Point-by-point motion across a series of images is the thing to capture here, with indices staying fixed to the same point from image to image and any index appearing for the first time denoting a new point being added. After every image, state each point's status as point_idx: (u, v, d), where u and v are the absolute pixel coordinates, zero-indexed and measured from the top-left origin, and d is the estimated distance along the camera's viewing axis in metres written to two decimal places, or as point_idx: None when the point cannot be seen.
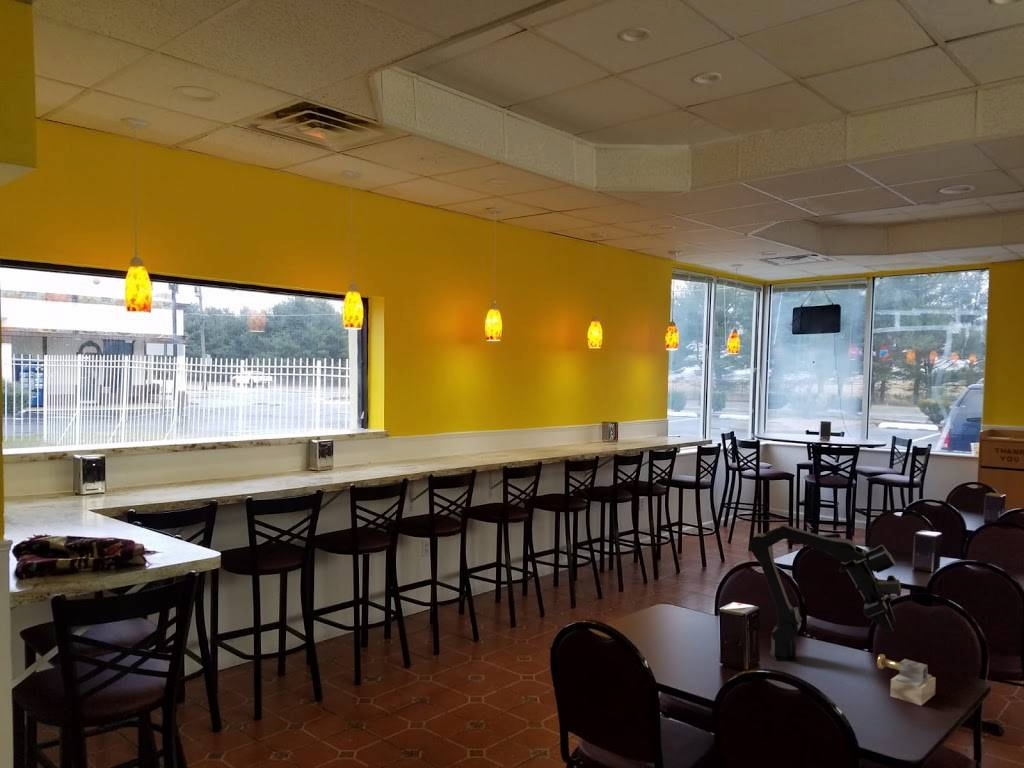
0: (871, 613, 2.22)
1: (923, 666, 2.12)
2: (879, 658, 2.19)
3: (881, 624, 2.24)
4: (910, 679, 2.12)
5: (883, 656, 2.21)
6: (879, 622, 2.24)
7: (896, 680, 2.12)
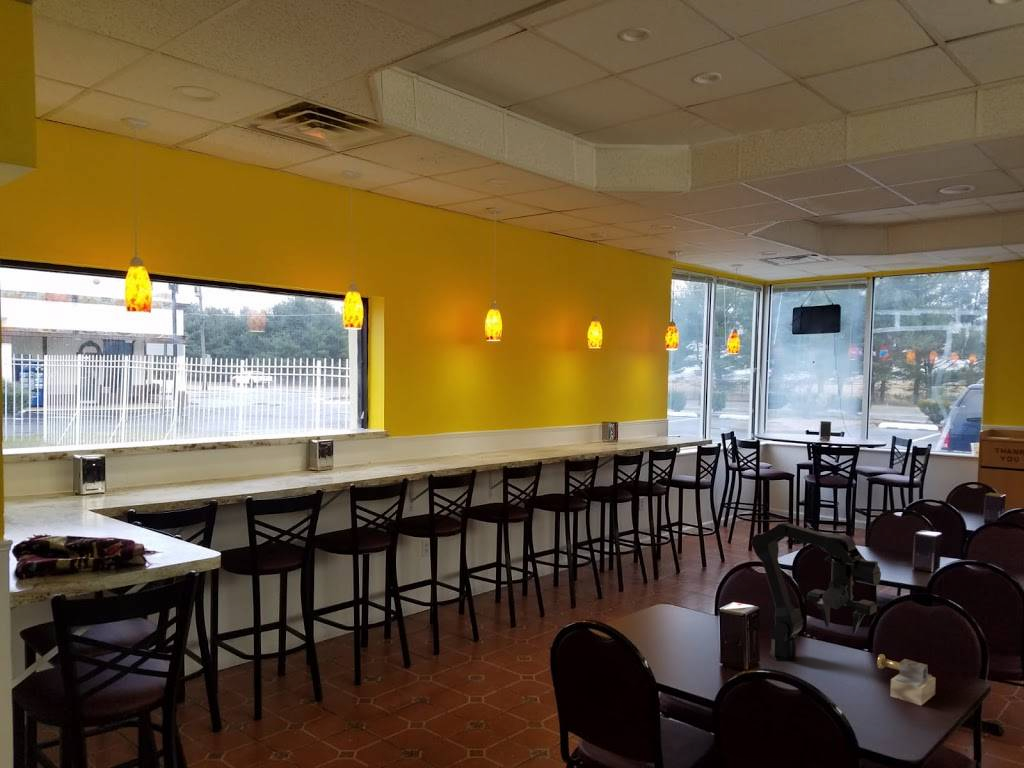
0: None
1: (923, 666, 2.12)
2: (879, 658, 2.19)
3: None
4: (910, 679, 2.12)
5: (883, 656, 2.21)
6: None
7: (896, 680, 2.12)
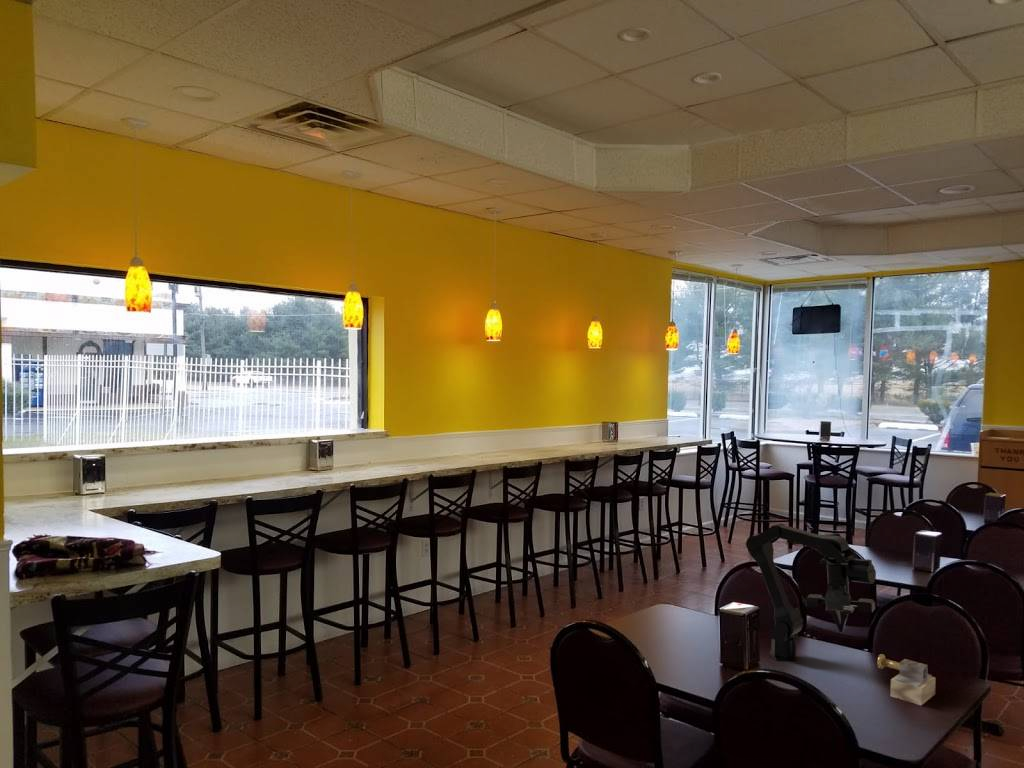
0: None
1: (923, 666, 2.12)
2: (879, 658, 2.19)
3: None
4: (910, 679, 2.12)
5: (883, 656, 2.21)
6: None
7: (896, 680, 2.12)
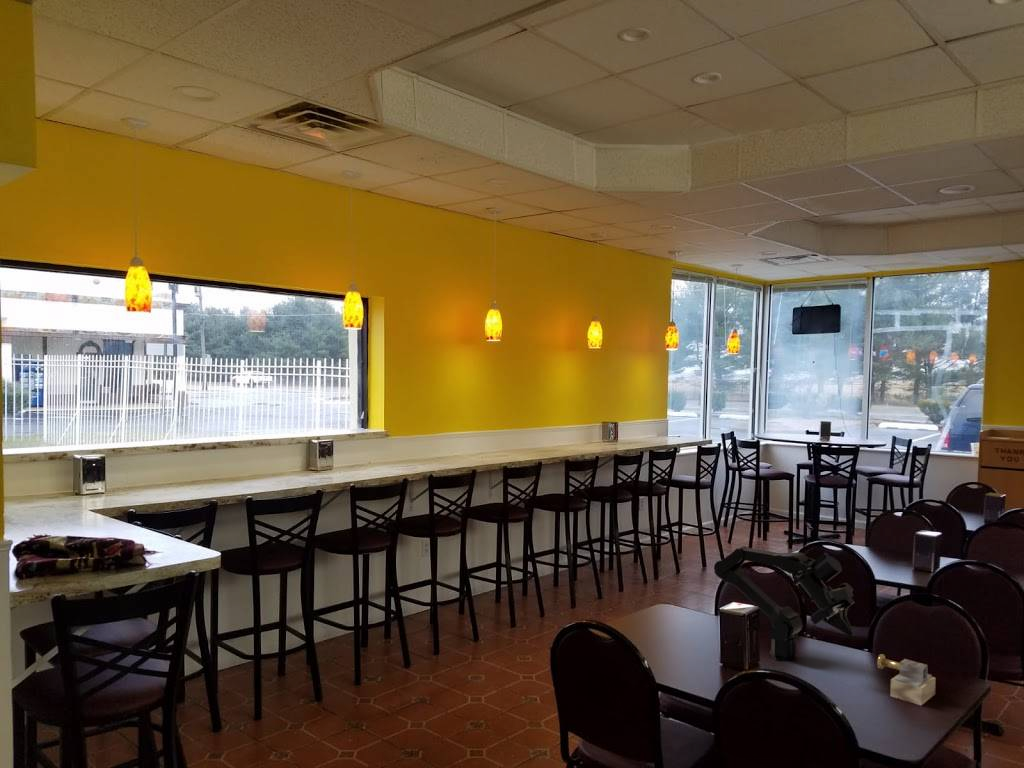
0: (817, 620, 2.24)
1: (923, 666, 2.12)
2: (879, 658, 2.19)
3: (840, 628, 2.28)
4: (910, 679, 2.12)
5: (883, 656, 2.21)
6: (837, 626, 2.28)
7: (896, 680, 2.12)
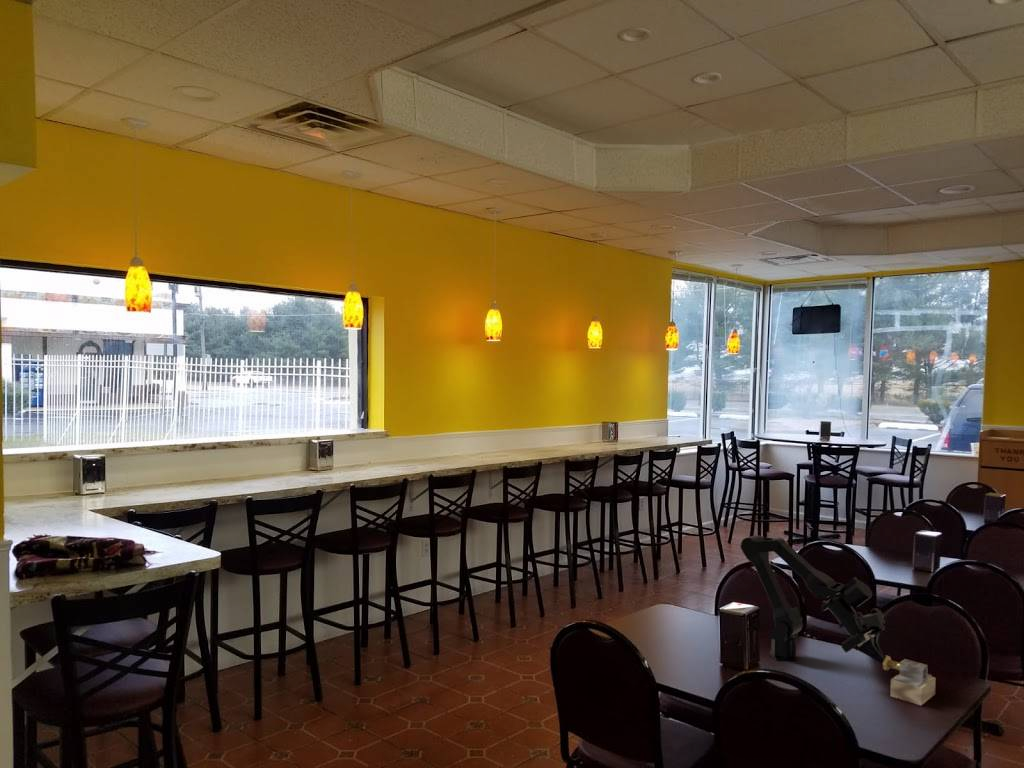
0: (849, 648, 2.18)
1: (923, 666, 2.12)
2: (885, 660, 2.18)
3: (871, 655, 2.21)
4: (910, 679, 2.12)
5: (889, 658, 2.19)
6: (869, 653, 2.21)
7: (896, 680, 2.12)
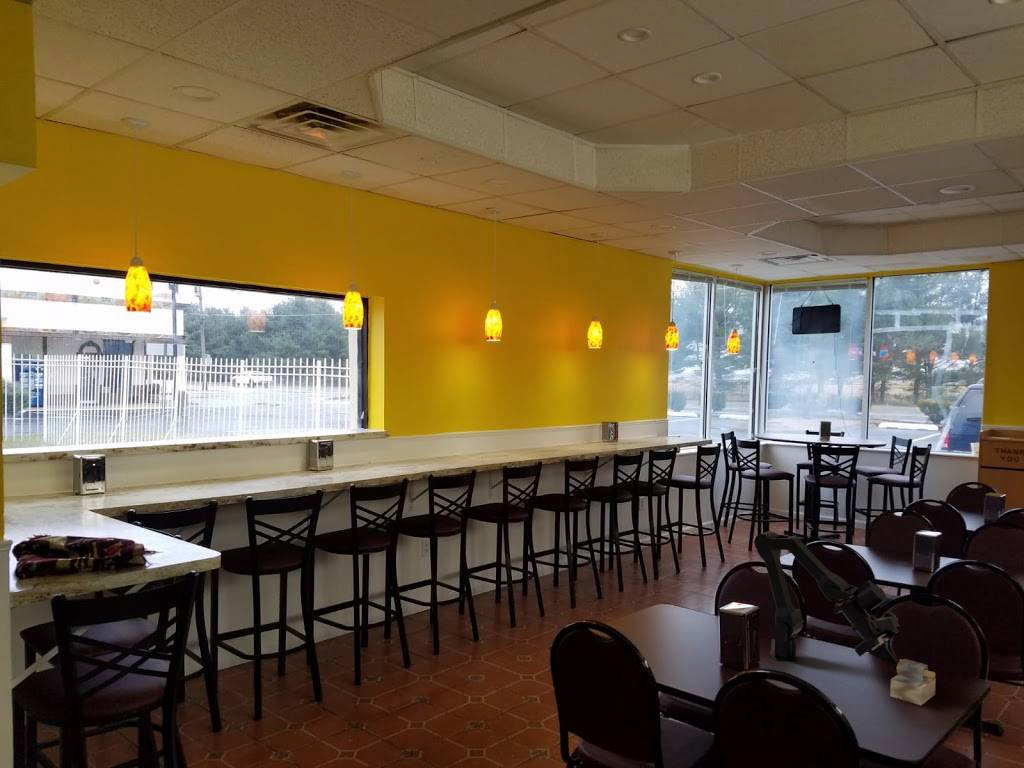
0: (862, 652, 2.15)
1: (923, 666, 2.12)
2: (898, 663, 2.16)
3: (885, 659, 2.18)
4: (910, 679, 2.12)
5: None
6: (882, 657, 2.19)
7: (896, 680, 2.12)
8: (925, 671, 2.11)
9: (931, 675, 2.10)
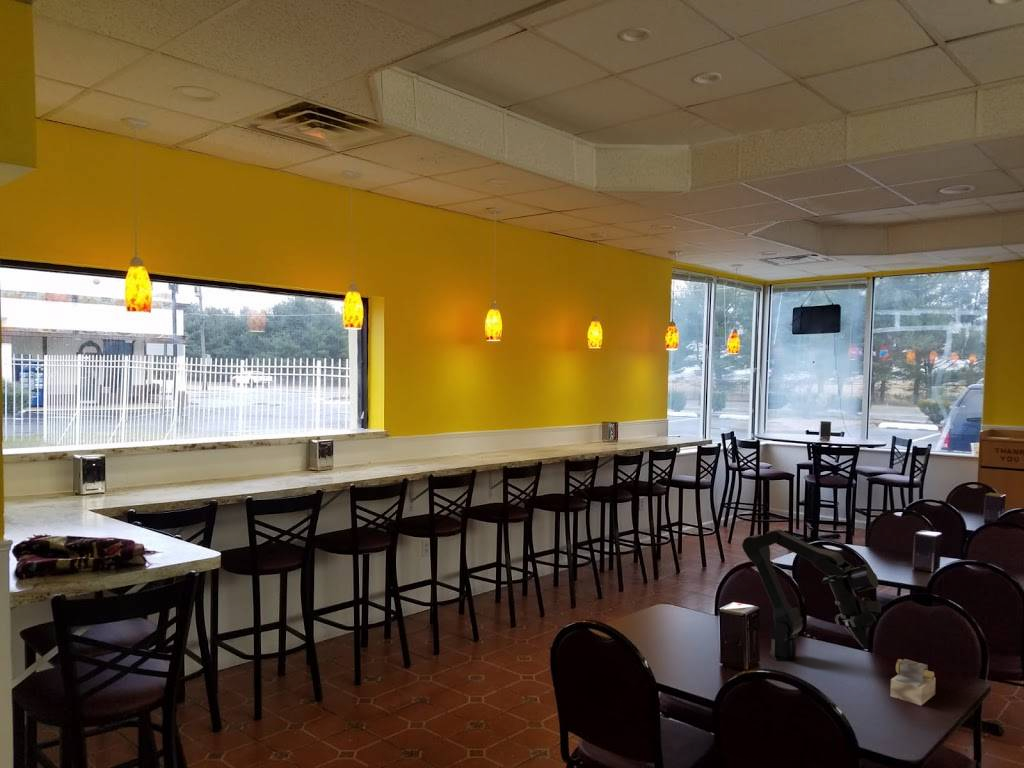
0: (862, 623, 2.17)
1: (923, 666, 2.12)
2: (898, 663, 2.16)
3: (859, 638, 2.23)
4: (910, 679, 2.12)
5: None
6: (858, 635, 2.23)
7: (896, 680, 2.12)
8: (924, 671, 2.12)
9: (930, 675, 2.10)
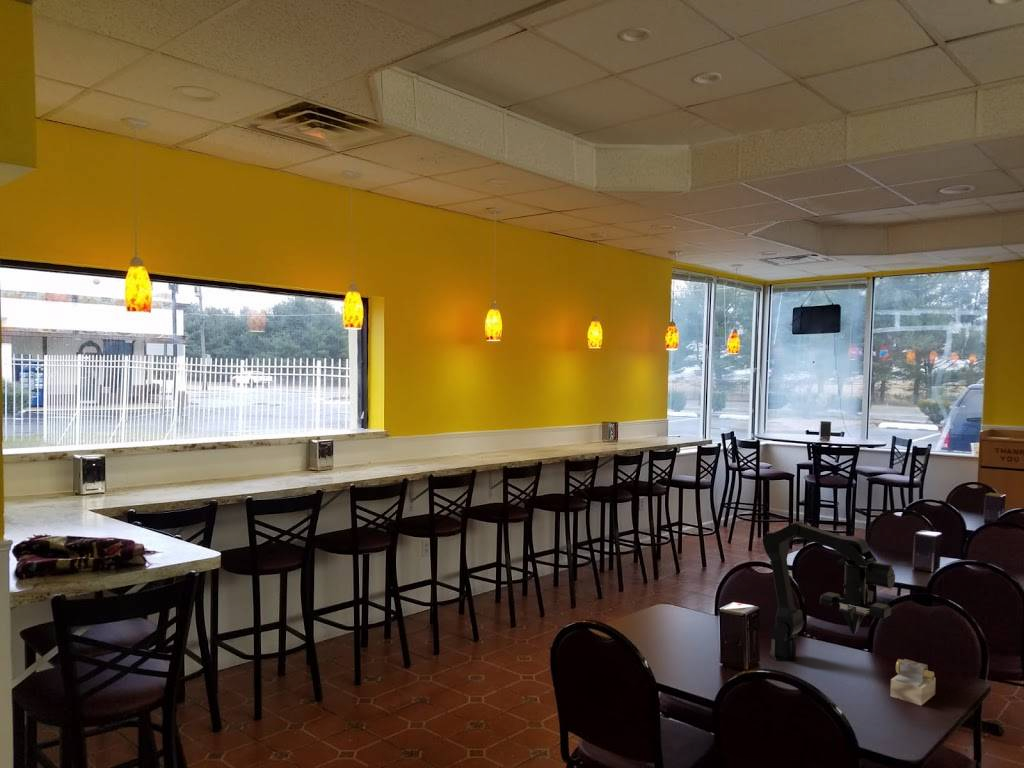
0: (886, 615, 2.18)
1: (923, 666, 2.12)
2: (898, 663, 2.16)
3: (857, 624, 2.24)
4: (910, 679, 2.12)
5: None
6: (857, 622, 2.24)
7: (896, 680, 2.12)
8: (924, 671, 2.12)
9: (930, 675, 2.10)
